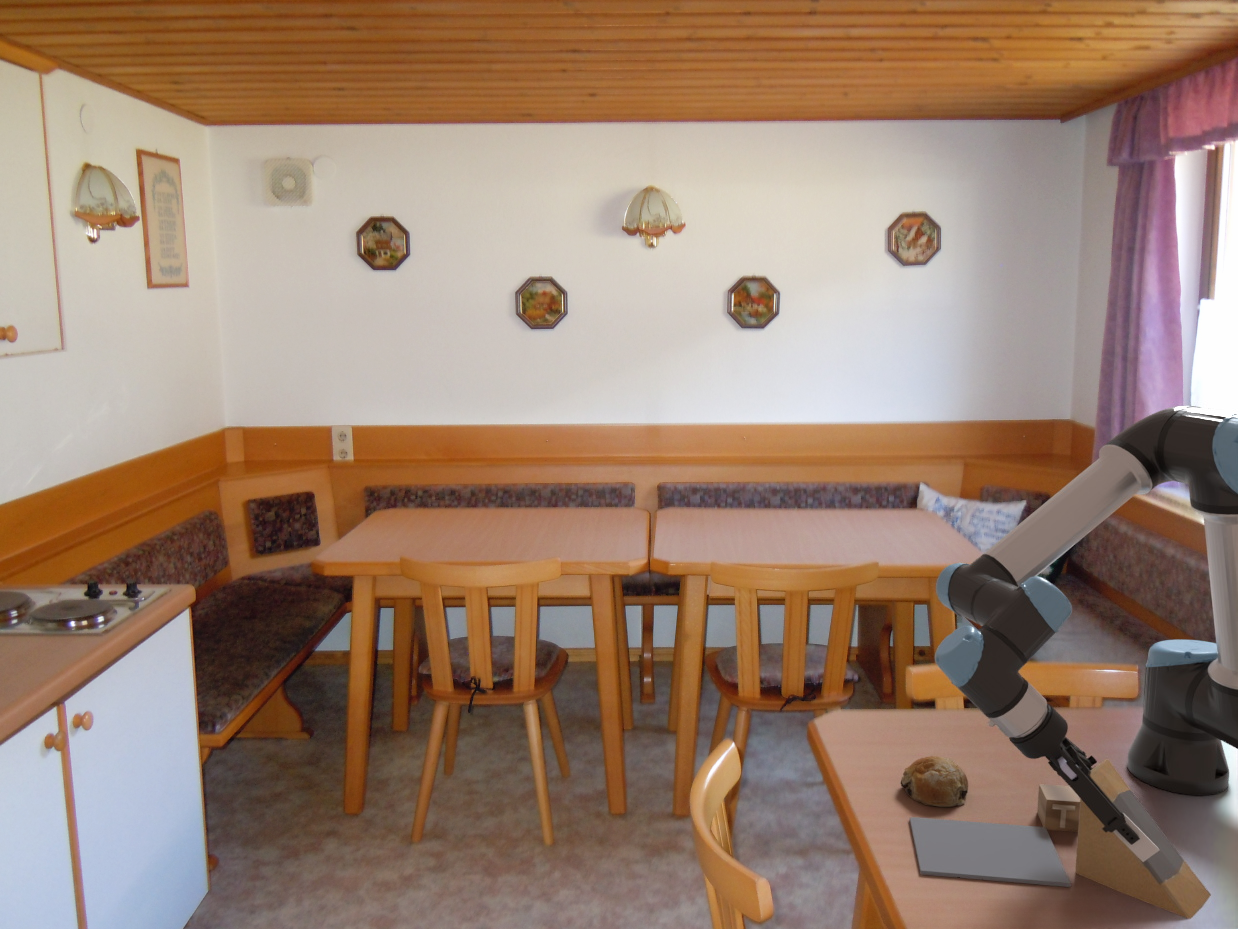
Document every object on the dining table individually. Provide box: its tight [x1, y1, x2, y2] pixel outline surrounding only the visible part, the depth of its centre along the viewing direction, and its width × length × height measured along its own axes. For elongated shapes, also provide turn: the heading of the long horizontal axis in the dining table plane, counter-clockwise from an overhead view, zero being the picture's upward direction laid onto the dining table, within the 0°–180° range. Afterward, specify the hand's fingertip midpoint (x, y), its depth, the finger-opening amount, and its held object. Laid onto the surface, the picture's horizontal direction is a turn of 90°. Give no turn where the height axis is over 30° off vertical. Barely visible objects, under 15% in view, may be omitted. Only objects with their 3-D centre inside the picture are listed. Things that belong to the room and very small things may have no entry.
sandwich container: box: [1075, 758, 1211, 920], centre depth 142 cm, size 9×15×15 cm, turn 43°
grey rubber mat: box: [909, 816, 1072, 888], centre depth 151 cm, size 20×15×1 cm
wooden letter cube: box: [1036, 783, 1080, 833], centre depth 159 cm, size 5×5×5 cm
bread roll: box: [900, 755, 969, 808], centre depth 168 cm, size 10×10×8 cm
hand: (1134, 828), depth 144 cm, fingers open, 13 cm apart
